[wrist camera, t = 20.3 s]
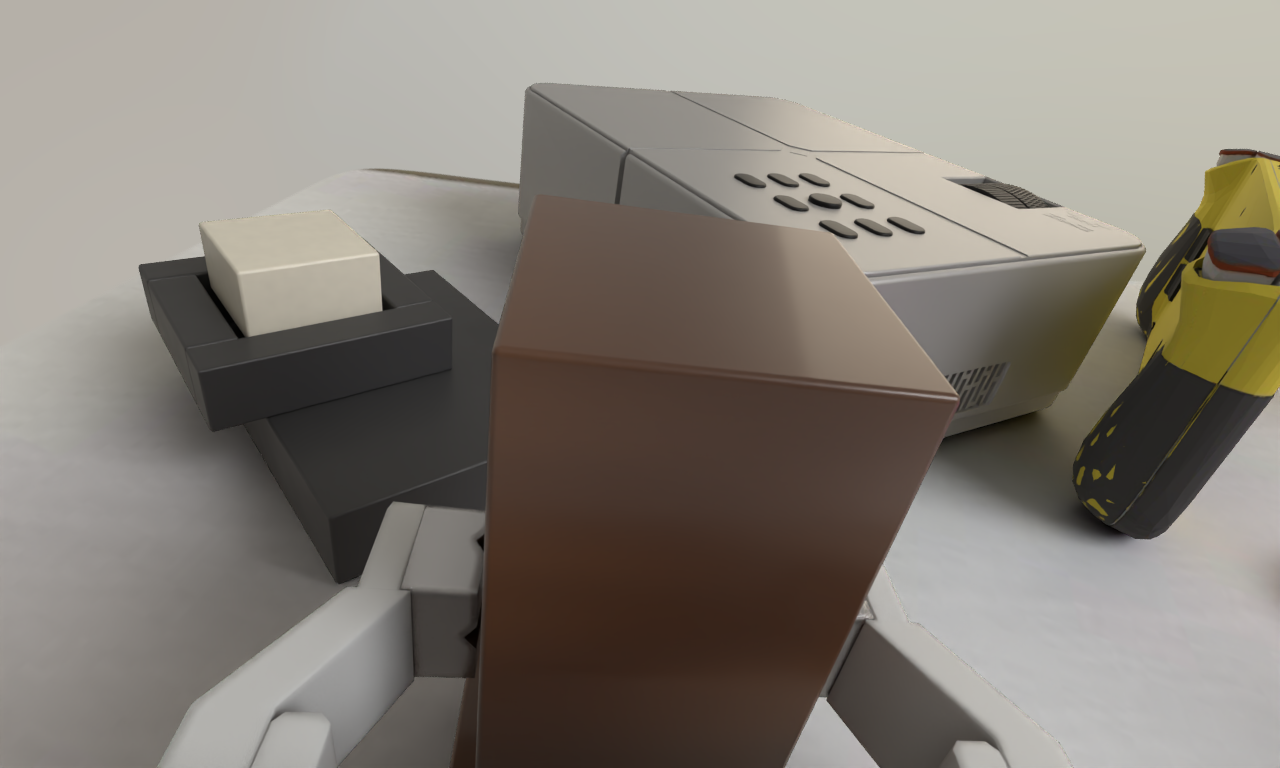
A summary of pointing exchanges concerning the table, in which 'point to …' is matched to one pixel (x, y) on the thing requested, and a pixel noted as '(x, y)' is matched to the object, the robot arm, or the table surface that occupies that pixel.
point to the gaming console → (1194, 355)
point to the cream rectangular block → (290, 270)
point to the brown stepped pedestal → (684, 487)
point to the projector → (856, 223)
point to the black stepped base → (344, 399)
